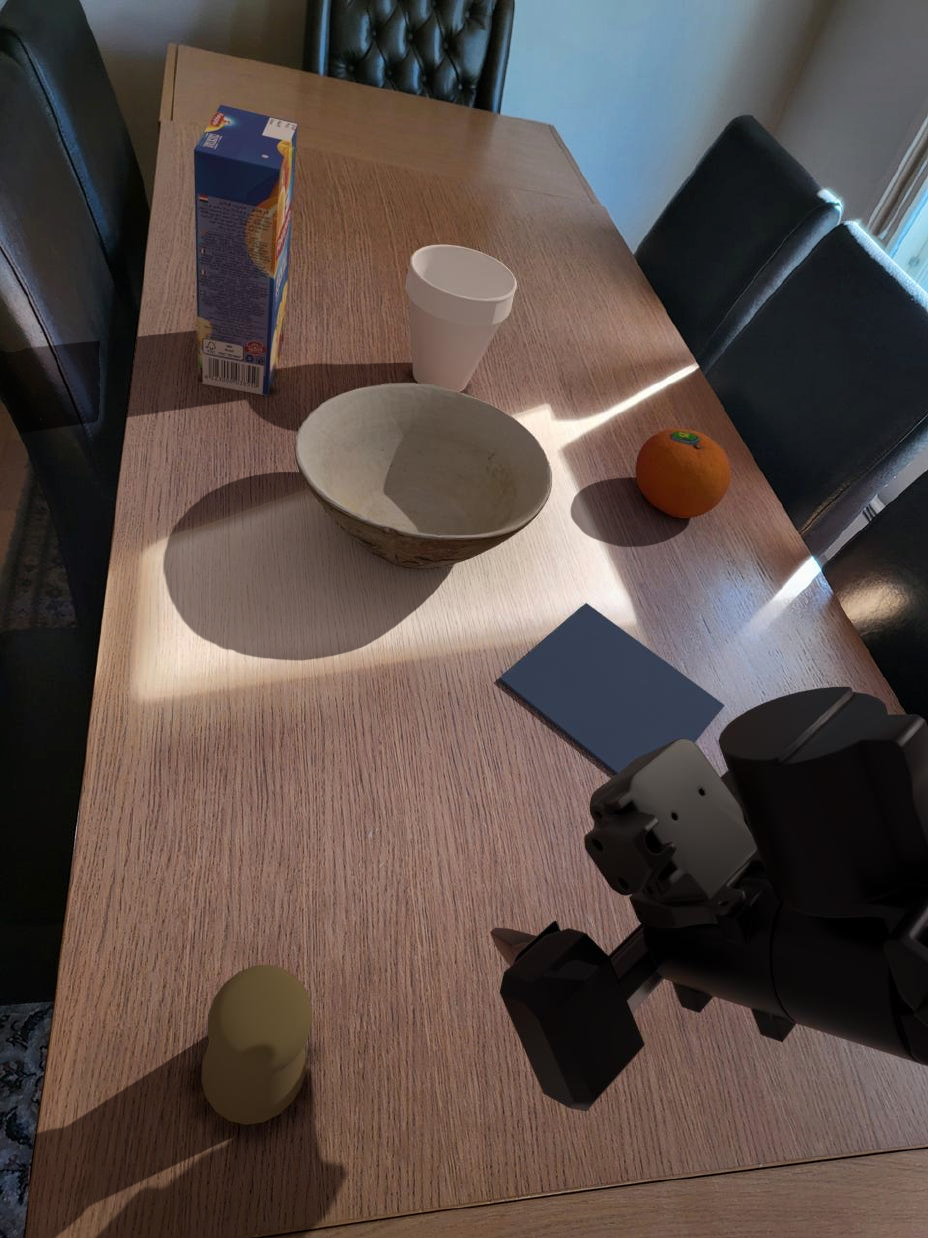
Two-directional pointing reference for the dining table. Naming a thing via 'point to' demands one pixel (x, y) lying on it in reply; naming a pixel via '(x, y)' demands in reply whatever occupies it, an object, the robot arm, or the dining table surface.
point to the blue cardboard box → (242, 246)
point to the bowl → (422, 471)
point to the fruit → (682, 472)
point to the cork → (256, 1044)
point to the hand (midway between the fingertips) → (554, 887)
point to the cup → (454, 311)
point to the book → (609, 691)
